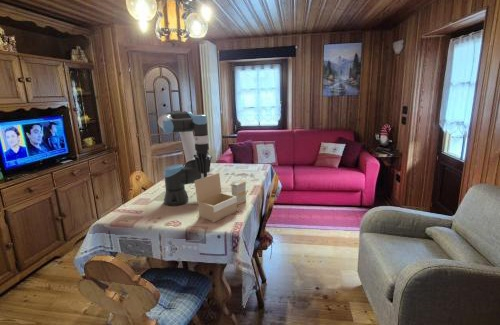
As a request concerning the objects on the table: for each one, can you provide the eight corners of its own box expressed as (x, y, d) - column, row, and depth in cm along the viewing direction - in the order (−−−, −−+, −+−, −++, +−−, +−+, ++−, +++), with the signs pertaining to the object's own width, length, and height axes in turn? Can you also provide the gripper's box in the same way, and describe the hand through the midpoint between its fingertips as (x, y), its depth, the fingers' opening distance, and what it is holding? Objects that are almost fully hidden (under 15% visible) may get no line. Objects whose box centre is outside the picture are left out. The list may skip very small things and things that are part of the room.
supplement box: (240, 199, 180) (239, 180, 177) (246, 201, 177) (245, 181, 174) (231, 203, 174) (230, 183, 171) (237, 205, 171) (236, 184, 168)
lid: (198, 201, 154) (197, 201, 155) (221, 192, 168) (220, 192, 168) (195, 180, 152) (194, 180, 153) (219, 172, 165) (218, 172, 166)
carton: (199, 217, 156) (198, 201, 154) (222, 206, 170) (221, 192, 168) (214, 222, 149) (213, 206, 147) (237, 211, 162) (236, 196, 160)
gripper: (188, 143, 158) (192, 183, 163) (204, 145, 149) (207, 187, 155) (199, 141, 163) (202, 180, 168) (214, 143, 155) (217, 184, 160)
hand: (204, 183), depth 161 cm, fingers closed
